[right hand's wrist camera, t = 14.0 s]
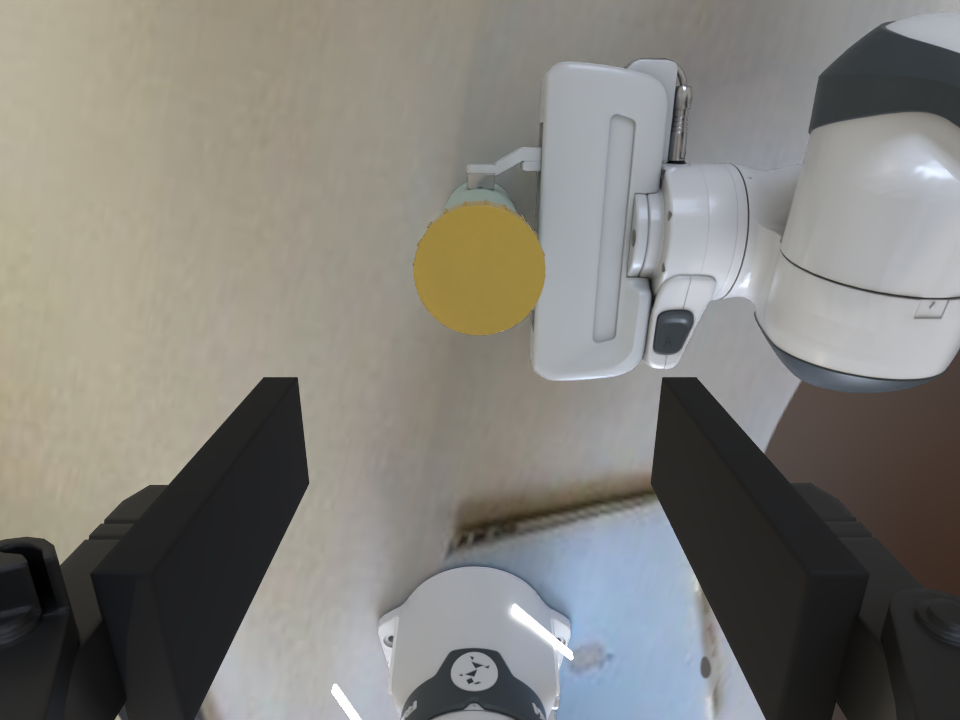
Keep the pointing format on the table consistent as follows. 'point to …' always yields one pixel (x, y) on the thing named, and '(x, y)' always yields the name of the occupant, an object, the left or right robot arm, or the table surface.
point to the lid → (479, 268)
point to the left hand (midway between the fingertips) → (466, 229)
